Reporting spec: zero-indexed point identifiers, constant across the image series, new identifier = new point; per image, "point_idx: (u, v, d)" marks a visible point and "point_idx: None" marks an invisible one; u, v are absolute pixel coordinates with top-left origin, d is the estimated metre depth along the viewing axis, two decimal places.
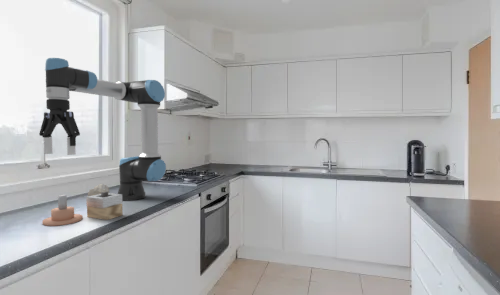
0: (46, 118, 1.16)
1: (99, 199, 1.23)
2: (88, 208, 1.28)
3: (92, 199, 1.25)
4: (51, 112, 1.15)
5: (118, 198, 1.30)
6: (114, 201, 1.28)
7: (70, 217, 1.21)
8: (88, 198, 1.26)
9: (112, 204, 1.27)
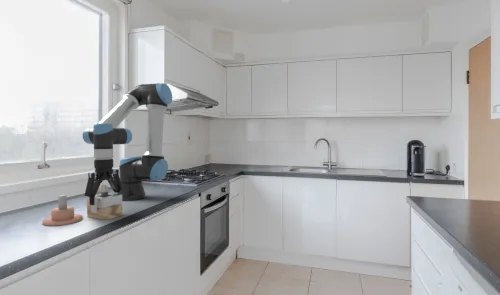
0: (113, 174, 1.34)
1: (99, 199, 1.23)
2: (88, 208, 1.28)
3: None
4: None
5: (118, 198, 1.30)
6: (114, 201, 1.28)
7: (70, 217, 1.21)
8: (88, 198, 1.26)
9: (112, 204, 1.27)
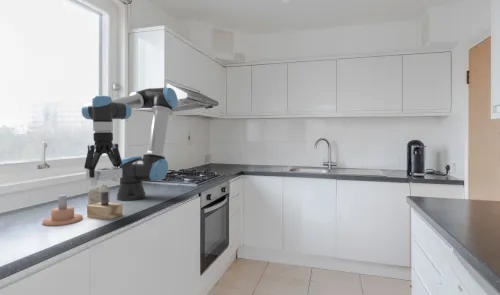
0: (112, 148, 1.34)
1: (99, 172, 1.23)
2: (88, 208, 1.28)
3: None
4: None
5: (118, 171, 1.29)
6: (114, 174, 1.28)
7: (70, 217, 1.21)
8: (88, 171, 1.26)
9: (112, 177, 1.27)
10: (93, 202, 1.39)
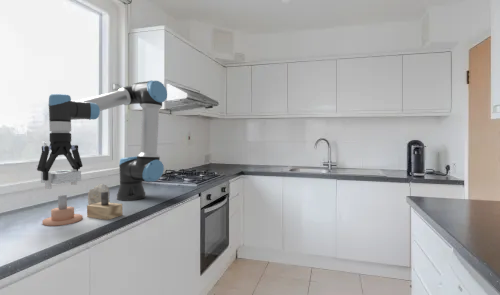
0: (72, 150, 1.27)
1: (53, 174, 1.16)
2: (88, 208, 1.28)
3: None
4: None
5: (75, 174, 1.22)
6: (71, 177, 1.20)
7: (70, 217, 1.21)
8: None
9: (68, 180, 1.19)
10: (93, 202, 1.39)
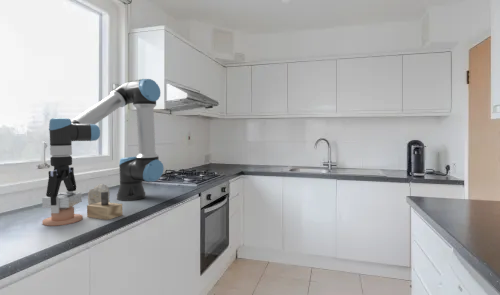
0: None
1: (62, 198, 1.17)
2: (88, 208, 1.28)
3: None
4: None
5: (78, 196, 1.25)
6: (76, 200, 1.23)
7: (70, 217, 1.21)
8: (45, 199, 1.17)
9: (74, 203, 1.22)
10: (93, 202, 1.39)
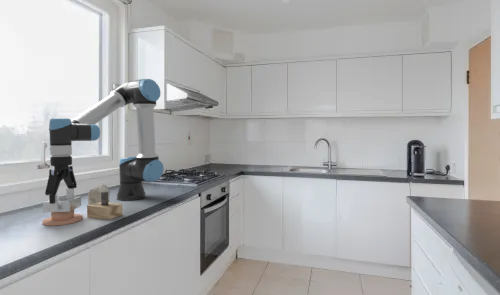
0: None
1: (63, 202, 1.17)
2: (88, 208, 1.28)
3: None
4: None
5: (78, 200, 1.25)
6: (76, 203, 1.23)
7: (70, 217, 1.21)
8: (46, 203, 1.17)
9: (75, 207, 1.22)
10: (93, 202, 1.39)
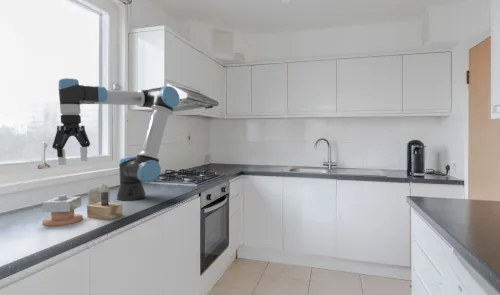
0: (79, 130, 1.36)
1: (63, 202, 1.17)
2: (88, 208, 1.28)
3: (52, 204, 1.17)
4: None
5: (78, 200, 1.25)
6: (76, 203, 1.23)
7: (70, 217, 1.21)
8: (46, 203, 1.17)
9: (75, 207, 1.22)
10: (93, 202, 1.39)
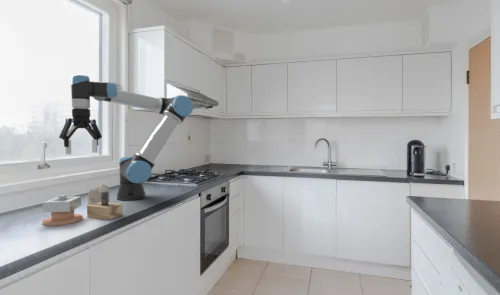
0: (91, 124, 1.46)
1: (63, 202, 1.17)
2: (88, 208, 1.28)
3: (52, 204, 1.17)
4: None
5: (78, 200, 1.25)
6: (76, 203, 1.23)
7: (70, 217, 1.21)
8: (46, 203, 1.17)
9: (75, 207, 1.22)
10: (93, 202, 1.39)
